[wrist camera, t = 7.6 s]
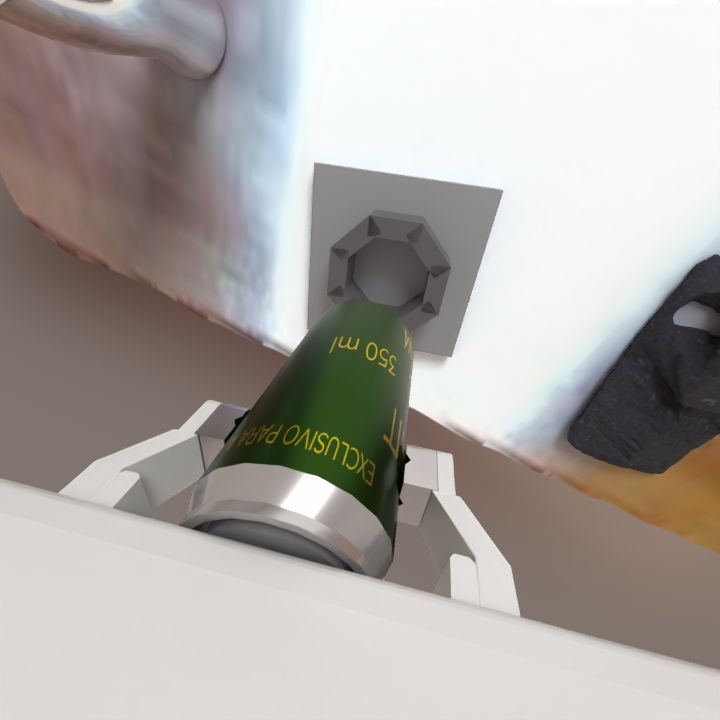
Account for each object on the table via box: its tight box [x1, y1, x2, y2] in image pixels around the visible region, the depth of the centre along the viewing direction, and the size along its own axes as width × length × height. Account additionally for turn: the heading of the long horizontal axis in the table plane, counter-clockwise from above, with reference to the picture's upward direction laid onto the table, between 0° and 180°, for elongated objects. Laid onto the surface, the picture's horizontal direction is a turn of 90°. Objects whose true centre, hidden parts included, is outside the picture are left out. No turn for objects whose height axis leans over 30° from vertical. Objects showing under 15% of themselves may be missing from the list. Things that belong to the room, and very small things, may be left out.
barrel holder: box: [307, 163, 503, 357], centre depth 29 cm, size 15×15×5 cm
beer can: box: [179, 300, 413, 580], centre depth 13 cm, size 5×5×12 cm
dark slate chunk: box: [567, 255, 720, 474], centre depth 30 cm, size 15×22×5 cm
